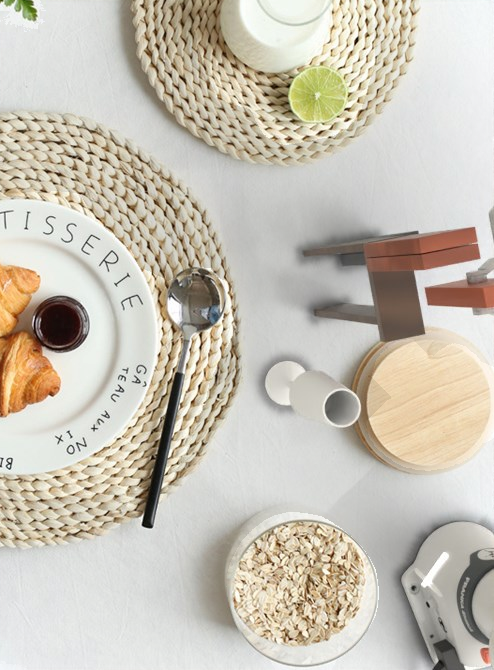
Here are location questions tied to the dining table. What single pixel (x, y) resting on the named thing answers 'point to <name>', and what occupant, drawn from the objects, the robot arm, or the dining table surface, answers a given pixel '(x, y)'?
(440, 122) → the dining table surface
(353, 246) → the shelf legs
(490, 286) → the terracotta book
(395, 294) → the shelf
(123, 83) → the dining table surface
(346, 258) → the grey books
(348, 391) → the champagne flute
